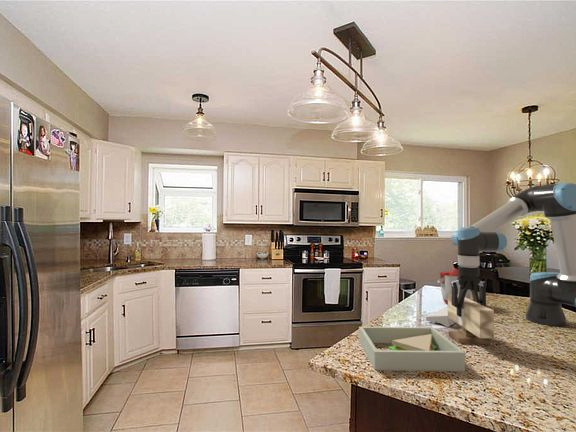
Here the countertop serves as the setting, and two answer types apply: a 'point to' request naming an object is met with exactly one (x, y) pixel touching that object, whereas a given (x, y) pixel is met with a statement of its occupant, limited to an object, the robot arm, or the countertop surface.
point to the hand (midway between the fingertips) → (468, 324)
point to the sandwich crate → (440, 360)
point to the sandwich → (414, 343)
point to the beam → (474, 317)
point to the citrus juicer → (449, 284)
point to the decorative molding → (440, 317)
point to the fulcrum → (467, 337)
